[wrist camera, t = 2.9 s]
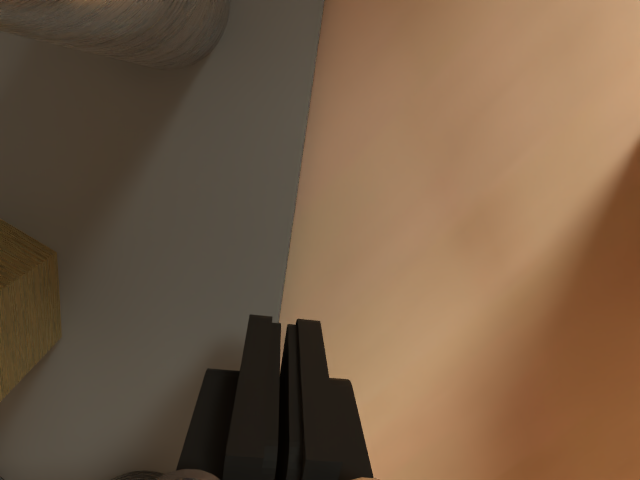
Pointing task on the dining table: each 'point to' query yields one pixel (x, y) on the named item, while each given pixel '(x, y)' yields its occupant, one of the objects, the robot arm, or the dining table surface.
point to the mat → (149, 229)
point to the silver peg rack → (123, 40)
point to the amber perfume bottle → (26, 304)
